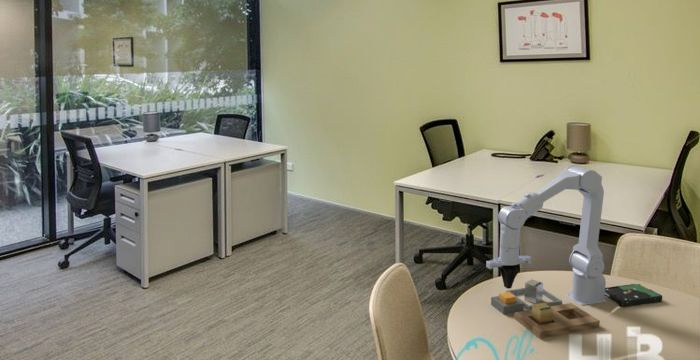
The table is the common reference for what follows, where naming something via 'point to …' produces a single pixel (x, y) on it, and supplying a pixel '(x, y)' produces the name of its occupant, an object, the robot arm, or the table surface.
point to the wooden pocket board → (559, 321)
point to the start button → (507, 298)
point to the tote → (547, 294)
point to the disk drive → (632, 295)
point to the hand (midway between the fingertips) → (507, 287)
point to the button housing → (507, 306)
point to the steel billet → (533, 291)
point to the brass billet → (542, 313)
